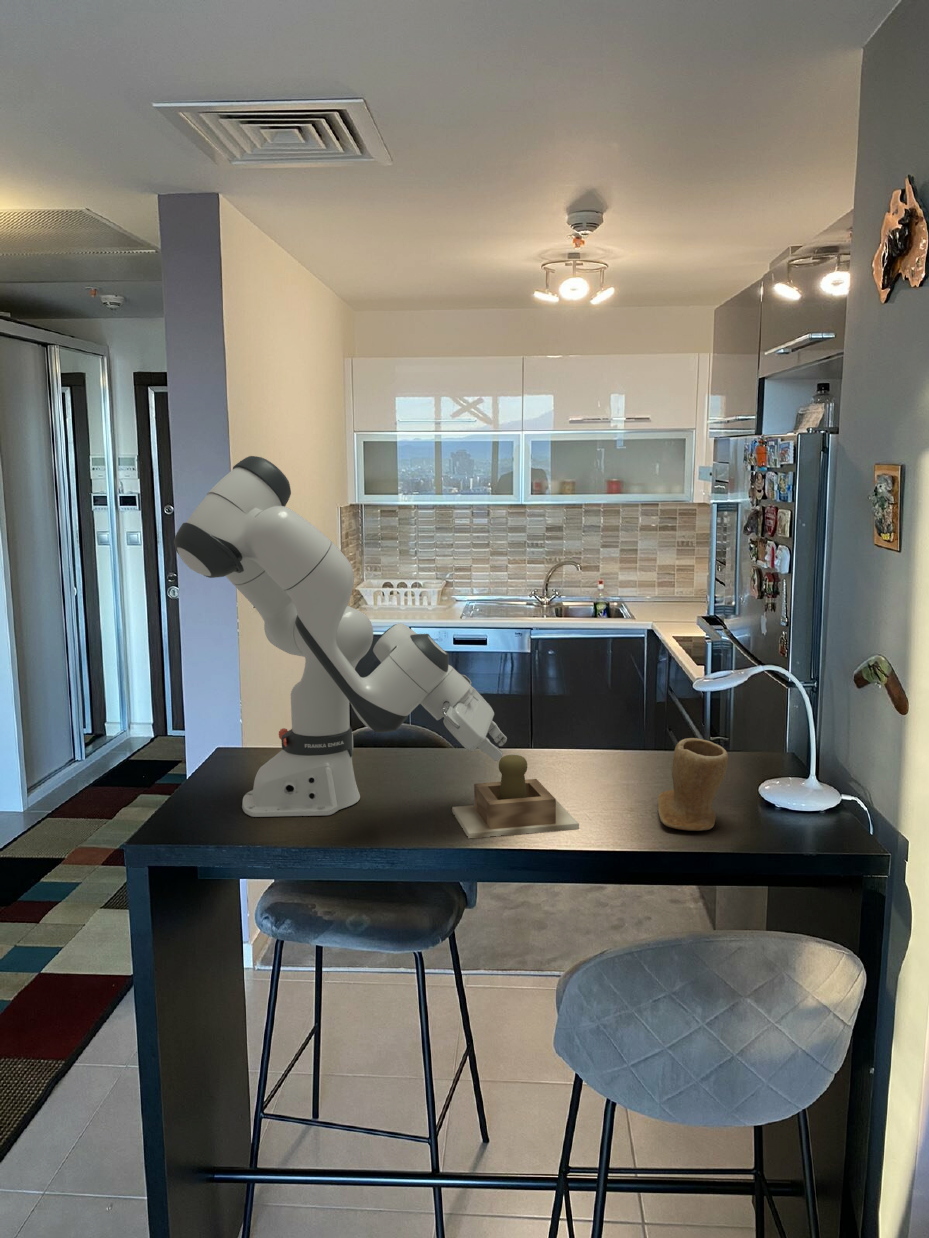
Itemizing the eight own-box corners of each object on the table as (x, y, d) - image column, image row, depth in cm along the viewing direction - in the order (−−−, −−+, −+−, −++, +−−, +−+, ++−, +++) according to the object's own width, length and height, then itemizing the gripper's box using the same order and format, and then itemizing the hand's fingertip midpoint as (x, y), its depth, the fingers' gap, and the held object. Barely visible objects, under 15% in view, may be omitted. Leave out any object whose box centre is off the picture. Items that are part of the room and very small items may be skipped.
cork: (521, 807, 179) (522, 750, 177) (535, 818, 173) (535, 759, 172) (491, 811, 177) (491, 753, 175) (503, 822, 171) (503, 762, 170)
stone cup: (728, 838, 166) (730, 753, 163) (657, 834, 168) (659, 750, 166) (722, 808, 180) (724, 730, 178) (657, 805, 183) (659, 728, 180)
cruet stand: (468, 838, 166) (468, 808, 166) (452, 812, 180) (452, 783, 179) (579, 828, 171) (579, 798, 170) (554, 803, 184) (554, 775, 183)
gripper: (452, 698, 163) (510, 754, 164) (466, 673, 184) (518, 724, 184) (426, 723, 165) (484, 779, 165) (443, 695, 185) (495, 746, 185)
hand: (502, 750), depth 175 cm, fingers open, 8 cm apart
